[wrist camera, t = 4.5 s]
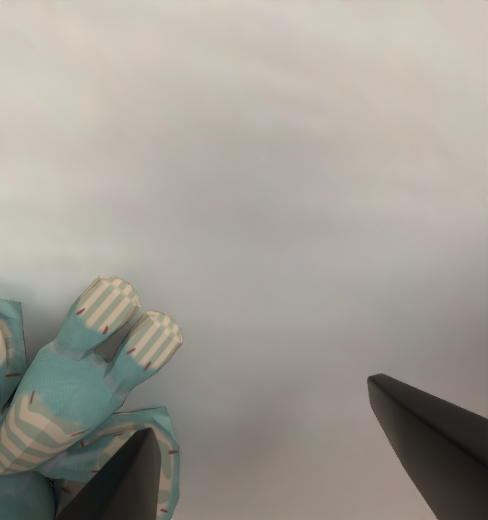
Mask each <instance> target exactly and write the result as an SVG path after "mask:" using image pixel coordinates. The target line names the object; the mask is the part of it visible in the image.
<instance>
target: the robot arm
mask: <svg viewBox="0 0 488 520" xmlns="http://www.w3.org/2000/svg"><path fill="white" fill-rule="evenodd" d="M367 384H368V391H369V399H370V404H371V407H372V410H373V412H374V414H375V416H376V417H377V419H378V421H379V423H380V425H381V427H382V429H383V430H384V432H385V434H386V436H387V438H388V440H389V442H390V444H391V445H392V447H393V449H394V451H395V453H396V455H397V457H398V458H399V460H400V462H401V464H402V466H403V467H404V469H405V470H406V472H407V474H408V475H409V477H410V478H411V480H412V481H413V483H414V484H415V486H416V487H417V489H418V490H419V492H420V493H421V495H422V496H423V498H424V499H425V501H426V502H427V504H428V505H429V507H430V508H431V510H432V511H433V513H434V514H435V516H436V517H437V519H438V520H488V419H487V418H484V417H482V416H480V415H477V414H475V413H473V412H470V411H468V410H466V409H463V408H461V407H459V406H457V405H454V404H452V403H450V402H447V401H445V400H443V399H440V398H438V397H436V396H433V395H431V394H429V393H426V392H424V391H422V390H419V389H417V388H415V387H413V386H410V385H408V384H406V383H403V382H401V381H399V380H396V379H394V378H392V377H389V376H387V375H385V374H376V375H372V376H369V377H368V378H367ZM160 472H161V451H160V447H159V444H158V441H157V438H156V435H155V432H154V430H153V428H151V427H148V428H143V429H139V430H137V431H136V432H135V433H134V434H133V435H132V436H131V437H130V438H129V439H128V440H127V441H126V442H125V443H124V444H123V445H122V446H121V448H120V449H119V450H118V451H117V452H116V453H115V454H114V455H113V456H112V457H111V458H110V459H109V460H108V461H107V463H106V464H105V465H104V466H103V467H102V468H101V469H100V470H99V471H98V472H97V473H96V474H95V475H94V476H93V478H92V479H91V480H90V481H89V482H88V483H87V484H86V485H85V486H84V487H83V488H82V489H81V490H80V491H79V493H78V494H77V495H76V496H75V497H74V498H73V499H72V500H71V501H70V502H69V503H68V504H67V505H66V506H65V508H64V509H63V510H62V511H61V512H60V513H59V514H58V515H57V516H56V517H55V518H54V519H53V520H156V515H157V504H158V493H159V483H160Z"/></svg>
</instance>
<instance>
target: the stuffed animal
mask: <svg viewBox="0 0 488 520" xmlns="http://www.w3.org/2000/svg"><path fill="white" fill-rule="evenodd" d="M140 308H141V305H140V302H139V299H138V296H137V293H136V291H135V290H134V289H133V288H132V287H131V285H130V284H129V283H127V282H125V281H123V280H121V279H119V278H117V277H105V276H99V277H98V278H97V279H96V280H95V281H94V282H93V283H92V284H91V285H90V286H89V287H88V288H87V289H86V290H85V291H84V292H83V294H82V295H81V296H80V297H79V298H78V299H77V301H76V302H75V303H74V304H73V305H72V306H71V308H70V310H69V312H68V314H67V316H66V318H65V320H64V322H63V325H62V327H61V330H60V332H59V333H58V335H57V336H56V337H55V339H54V340H53V341H52V342H50V343H48V344H46V345H45V346H43V347H41V348H40V349H39V351H38V353H37V355H36V357H35V358H34V360H33V362H32V363H31V365H30V366H29V368H28V365H27V361H26V356H25V345H24V334H23V324H22V312H21V302H15V301H8V300H2V299H0V520H53V519H54V518H55V517H56V516H57V515H58V514H59V513H60V512H61V511H62V510H63V509H64V508H65V506H66V505H67V504H68V503H69V502H70V501H71V500H72V499H73V498H74V497H75V496H76V495H77V494H78V493H79V491H80V490H81V489H82V488H83V487H84V486H85V485H86V484H87V483H88V482H89V481H90V480H91V479H92V478H93V476H94V475H95V474H96V473H97V472H98V471H99V470H100V469H101V468H102V467H103V466H104V465H105V464H106V463H107V461H108V460H109V459H110V458H111V457H112V456H113V455H114V454H115V453H116V452H117V451H118V450H119V449H120V448H121V446H122V445H123V444H124V443H125V442H126V441H127V440H128V439H129V438H130V437H131V436H132V435H133V434H134V433H135V432H136V431H137V430H139V429H143V428H148V427H151V428H153V430H154V432H155V435H156V438H157V441H158V444H159V447H160V451H161V472H160V483H159V493H158V504H157V515H156V520H170V519H171V516H172V514H173V511H174V509H175V506H176V504H177V502H178V499H179V444H178V440H177V435H176V432H175V429H174V426H173V423H172V421H171V418H170V416H169V414H168V412H167V410H166V408H165V407H160V408H154V409H149V410H141V411H134V412H127V413H119V414H113V413H114V412H115V411H116V410H117V409H119V408H120V407H121V406H122V405H123V403H124V400H125V398H126V396H127V394H128V393H129V392H130V391H131V390H132V389H133V388H134V387H135V386H137V385H138V384H140V383H142V382H143V381H145V380H146V379H148V378H149V377H151V376H152V375H154V374H155V373H156V372H158V371H159V370H160V369H161V368H162V367H163V366H164V364H165V363H166V362H167V361H168V360H169V359H170V358H171V357H172V356H173V354H174V353H175V352H176V351H177V349H178V348H179V347H180V346H181V345H182V343H183V339H182V334H181V330H180V327H179V326H178V325H177V324H176V323H175V321H174V320H173V319H172V318H171V317H169V316H167V315H166V314H164V313H160V312H155V311H146V312H145V313H144V315H143V316H142V317H141V318H140V319H139V320H138V321H137V322H136V324H135V325H134V326H133V327H132V329H131V330H130V332H129V333H128V335H127V336H126V337H125V339H124V340H123V342H122V344H121V345H120V347H119V349H118V350H117V352H116V354H115V355H114V357H113V358H112V360H111V361H110V362H107V361H106V360H105V358H104V357H103V356H102V355H100V354H98V353H96V352H94V351H95V349H96V348H97V347H98V346H100V345H101V344H102V343H103V342H105V341H106V340H107V339H108V338H110V337H111V336H112V335H113V334H115V333H116V332H117V331H118V330H119V329H120V328H122V327H123V326H124V325H125V324H126V323H127V322H128V321H129V320H130V319H131V318H132V317H133V316H134V315H135V313H136V312H137V311H138V310H139V309H140ZM23 375H24V376H23ZM22 377H23V378H22ZM21 379H22V380H21ZM20 380H21V382H20ZM19 382H20V384H19V386H18V388H17V390H16V393H15V395H14V398H13V400H12V402H11V404H10V406H9V407H7V408H3V407H4V406H5V404H6V402H7V401H8V399H9V398H10V396H11V394H12V393H13V391H14V390H15V388H16V387H17V385H18V383H19ZM46 477H49V478H53V479H54V482H53V487H52V488H51V486H50V484H49V482H48V480H47V478H46Z"/></svg>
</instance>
